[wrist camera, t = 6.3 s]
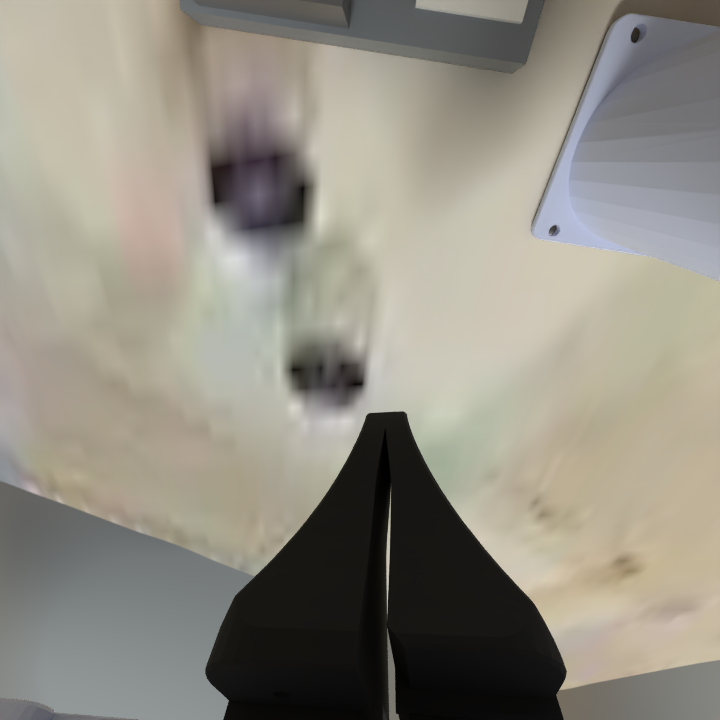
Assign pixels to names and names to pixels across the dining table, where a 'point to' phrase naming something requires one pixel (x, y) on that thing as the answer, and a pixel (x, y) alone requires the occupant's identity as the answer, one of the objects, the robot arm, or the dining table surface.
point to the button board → (390, 26)
